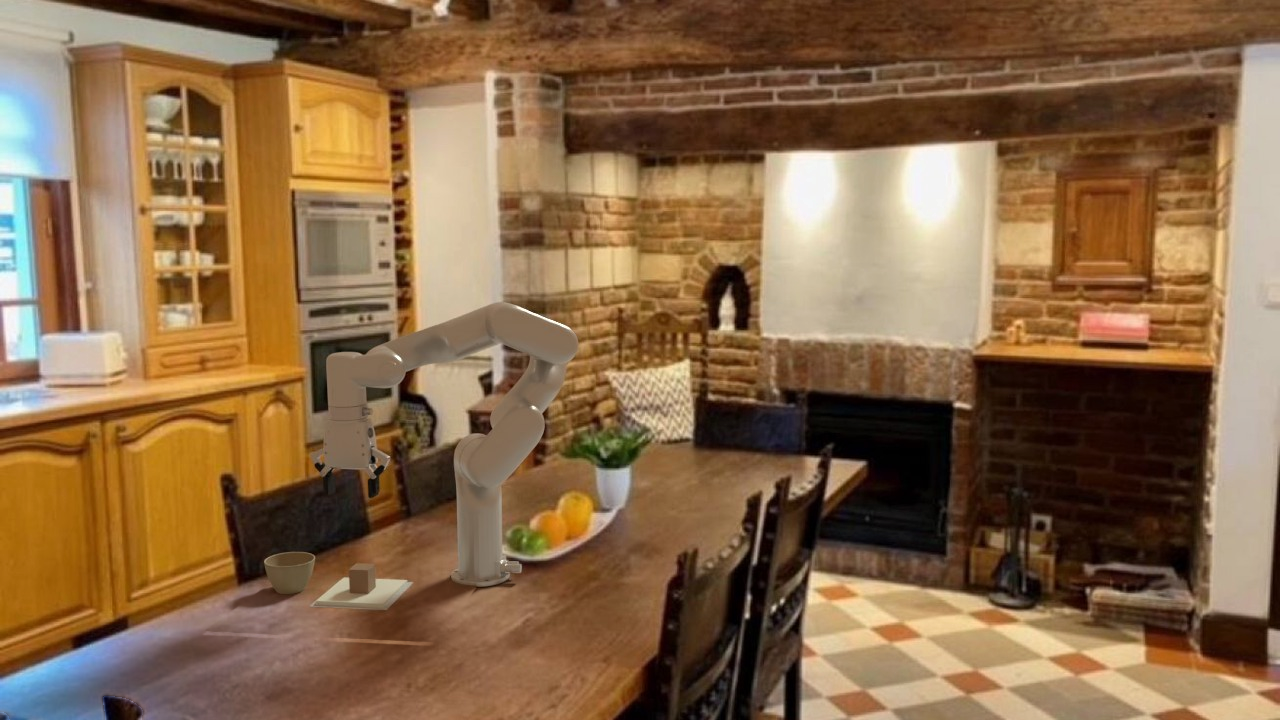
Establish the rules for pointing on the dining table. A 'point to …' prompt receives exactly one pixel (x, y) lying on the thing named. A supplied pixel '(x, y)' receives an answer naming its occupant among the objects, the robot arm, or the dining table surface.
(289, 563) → the flower pot
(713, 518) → the dining table surface
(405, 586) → the mat
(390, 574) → the dining table surface
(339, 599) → the lid
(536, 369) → the robot arm
